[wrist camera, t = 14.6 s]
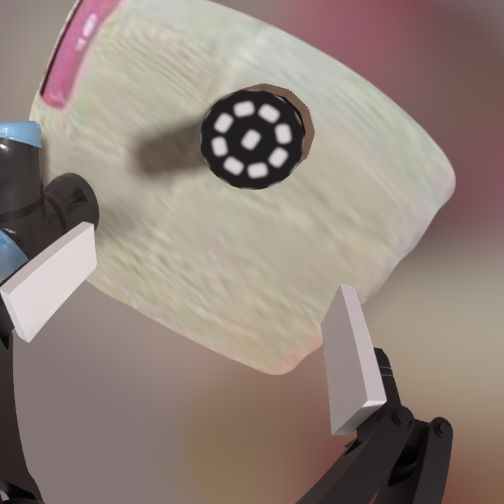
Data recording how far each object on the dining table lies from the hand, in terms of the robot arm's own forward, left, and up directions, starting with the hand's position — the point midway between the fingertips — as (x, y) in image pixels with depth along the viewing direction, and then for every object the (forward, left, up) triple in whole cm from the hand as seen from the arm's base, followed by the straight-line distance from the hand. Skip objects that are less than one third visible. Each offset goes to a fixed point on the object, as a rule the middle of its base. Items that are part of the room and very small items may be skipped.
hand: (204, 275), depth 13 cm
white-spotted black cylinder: (0, +6, -31) cm, 32 cm away
